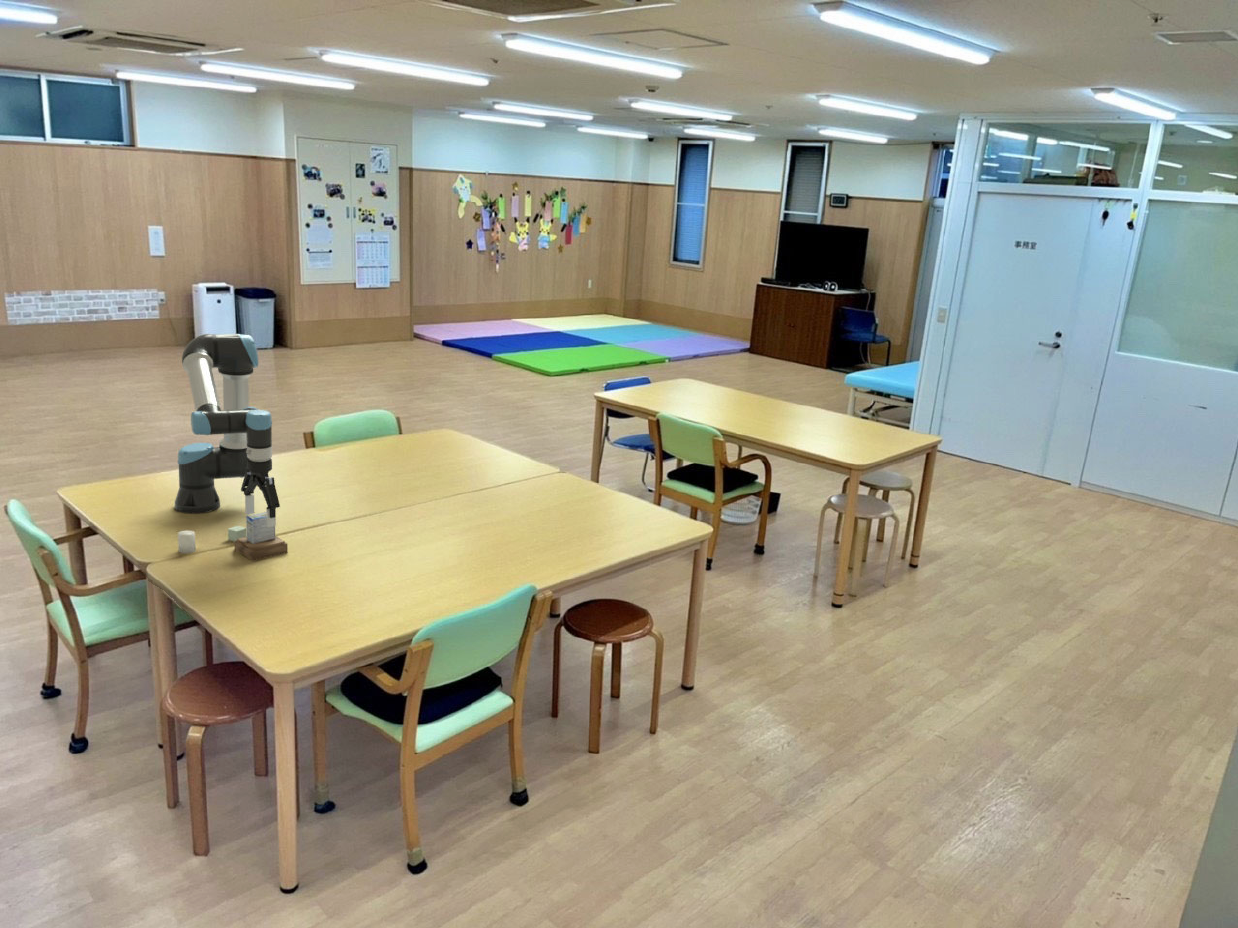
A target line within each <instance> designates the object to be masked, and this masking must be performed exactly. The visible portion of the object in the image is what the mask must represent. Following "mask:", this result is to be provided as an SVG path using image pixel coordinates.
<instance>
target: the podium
mask: <svg viewBox="0 0 1238 928" xmlns="http://www.w3.org/2000/svg"><path fill="white" fill-rule="evenodd" d="M234 550H235V551H236V552H238V553H240V554H241V555H243V557H247V559H249V560H251V561H253V562H255V561H259V560H262V559H266V558H270V557H271V558H272V557H275V556H280V555H283V554H286V553H287V554H288V552H289V550H288V543H287V542H286V540H283V539H282V538H280V537H278V536H276V535H275V539H271V540H267V541H263V542H259V543H255V544H253V543H251V542H249V541H248V540H247V535H246V537H242V538H237V540H235V542H234Z"/></svg>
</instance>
